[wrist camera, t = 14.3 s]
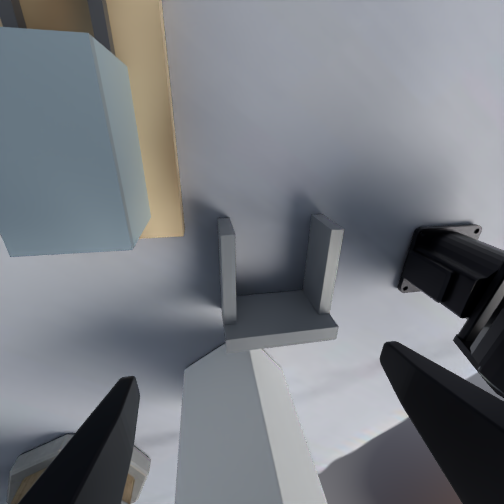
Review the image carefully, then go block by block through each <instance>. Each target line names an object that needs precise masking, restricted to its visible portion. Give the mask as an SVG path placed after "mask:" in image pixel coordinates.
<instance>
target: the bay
mask: <svg viewBox="0 0 504 504" xmlns="http://www.w3.org/2000/svg"><path fill="white" fill-rule="evenodd" d="M343 235H344V229H343V228H342V227H340V226H339V225H337V224H336V223H335V222H333V221H332V220H330V219H329V218H327V217H326V216H324V215H323V214H313V215H311V224H310V232H309V241H308V250H307V258H306V267H305V275H304V284H303V290H298V291H287V292H276V293H265V294H253V295H242V296H236V249H235V232H234V229H233V226H232V223H231V220H230V218H218V241H219V264H220V287H221V309H222V318H223V327H224V336H225V344H226V353H232V352H240V351H248V350H256V349H264V348H272V347H280V346H287V345H295V344H303V343H311V342H319V341H327V340H335V339H336V337H337V332H338V325H337V324H336V323H335V321H334V320H333V318H332V317H331V315H330V314H329V313H330V308H331V302H332V297H333V291H334V285H335V280H336V274H337V268H338V263H339V257H340V251H341V246H342V240H343Z"/></svg>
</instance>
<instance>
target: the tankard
mask: <svg viewBox="0 0 504 504" xmlns="http://www.w3.org/2000/svg"><path fill="white" fill-rule="evenodd" d="M73 435H74V434H66V435H64V436H62V437H60V438H58V439H55V440H53V441H51V442H49V443H47V444H44V445H42V446H40V447H38V448H35V449H33V450H31V451H29V452H27V453H24V454H22V455H20V456H18V458H17V460H16V461H15V463H14V465H13V467H12V469H11V470H10V473H9V483H8V493H7V504H18V502H19V501H20V500H21V499H22V498H23V496H24V495H25V494H26V493H27V491H28V490H29V489H30V488H31V487H32V485H33V484H34V483H35V482H36V480H37V479H38V478H39V477H40V476H41V474H42V473H43V472H44V471H45V470H46V468H47V467H48V466H49V465H50V463H51V462H52V461H53V460H54V459H55V457H56V456H57V455H58V454H59V452H60V451H61V450H62V449H63V448H64V446H65V445H66V444H67V443H68V442H69V440H70V439H71V438H72V437H73ZM150 461H151V459H149V458H148V457H147V456H146V455H145V454H143V453H142V452H141V451H140V450H138V449H137V448H136V447H134V446H133V453H132V458H131V463H130V467H129V471H128V475H127V480H126V484H125V488H124V493H123V497H122V501H121V504H131V503H133V502H135V501H137V500H138V498H139V495H140V493H141V490H142V488H143V486H144V483H145V481H146V478H147V476H148V474H149V468H150Z"/></svg>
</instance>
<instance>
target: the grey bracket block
mask: <svg viewBox="0 0 504 504" xmlns="http://www.w3.org/2000/svg"><path fill="white" fill-rule="evenodd" d="M87 1H88V6H89V12H90V17H91V22H92V27H93V32H94V37H95V38H94V37H92V36H91V35H90V34H89V33H82V32H68V31H54V30H40V29H27V27H26V23H25V20H24V16H23V12H22V9H21V5H20V2H19V0H0V19H1V22H2V25H3V27H0V234H1V236H2V239H3V241H4V243H5V246H6V248H7V250H8V253H9V255H10V257H19V256H36V255H54V254H71V253H88V252H105V251H123V250H133V248H134V246H135V244H136V243H137V241H138V239H139V237H140V236H141V234H142V232H143V230H144V229H145V227H146V225H147V223H148V222H149V220H150V218H151V213H150V207H149V200H148V194H147V188H146V182H145V175H144V169H143V163H142V156H141V150H140V144H139V138H138V131H137V125H136V119H135V112H134V106H133V100H132V94H131V87H130V81H129V75H128V68H127V66H126V65H125V64H124V63H123V62H122V61H120V60H119V59H118V58H117V57H116V55H115V50H114V44H113V38H112V32H111V26H110V21H109V15H108V9H107V3H106V0H87Z"/></svg>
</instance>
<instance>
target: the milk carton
mask: <svg viewBox="0 0 504 504" xmlns="http://www.w3.org/2000/svg"><path fill="white" fill-rule="evenodd" d="M175 504H327V501H326V498H325V495H324V492H323V489H322V486H321V484H320V480H319V478H318V474H317V471H316V468H315V465H314V462H313V459H312V457H311V454H310V451H309V448H308V445H307V442H306V439H305V436H304V433H303V430H302V427H301V424H300V421H299V418H298V415H297V412H296V409H295V406H294V403H293V400H292V397H291V394H290V391H289V388H288V385H287V382H286V380H285V377H284V374H283V371H282V369H281V368H280V367H279V366H278V365H277V364H276V363H275V362H274V361H273V360H272V359H271V358H270V357H269V356H268V355H267V354H266V353H265V352H264V351H263V350H262V349H256V350H248V351H240V352H232V353H226V344H223V345H222V346H220V347H219V348H217V349H216V350H214V351H212V352H211V353H209V354H208V355H206V356H205V357H203V358H202V359H200V360H198V361H197V362H195V363H194V364H192V365H191V366H189V367H188V368H186V369H185V370H184V380H183V394H182V408H181V422H180V436H179V450H178V465H177V479H176V493H175Z"/></svg>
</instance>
